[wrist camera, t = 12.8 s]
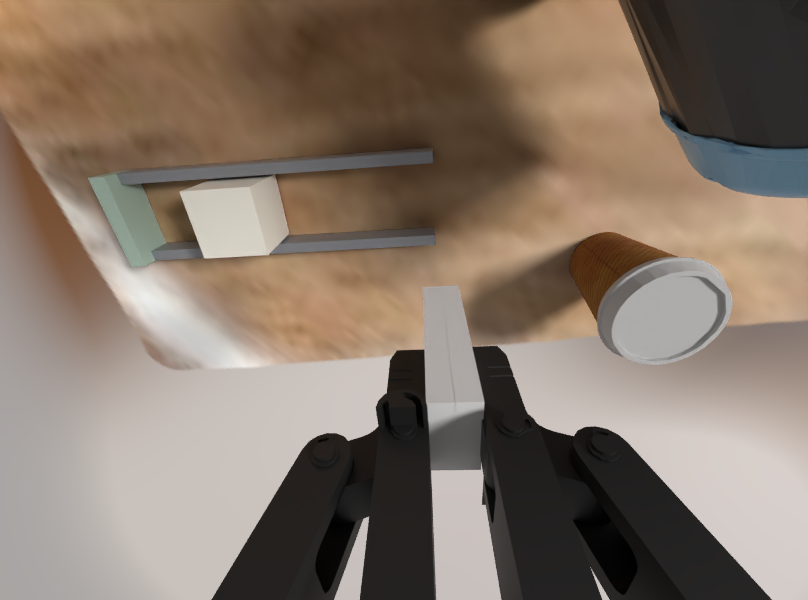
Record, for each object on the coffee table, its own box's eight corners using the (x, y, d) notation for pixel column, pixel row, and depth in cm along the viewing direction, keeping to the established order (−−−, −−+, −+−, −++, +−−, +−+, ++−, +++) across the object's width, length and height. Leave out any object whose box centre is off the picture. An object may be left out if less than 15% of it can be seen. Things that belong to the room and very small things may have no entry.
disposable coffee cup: (653, 280, 38) (741, 346, 28) (564, 310, 41) (615, 382, 30) (641, 200, 34) (739, 243, 24) (544, 239, 37) (594, 293, 26)
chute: (120, 170, 35) (87, 177, 31) (431, 147, 33) (433, 152, 29) (157, 252, 39) (131, 266, 35) (434, 236, 37) (436, 250, 33)
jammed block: (215, 177, 34) (179, 191, 29) (275, 173, 34) (249, 186, 29) (234, 236, 37) (204, 258, 32) (289, 233, 37) (268, 255, 32)
